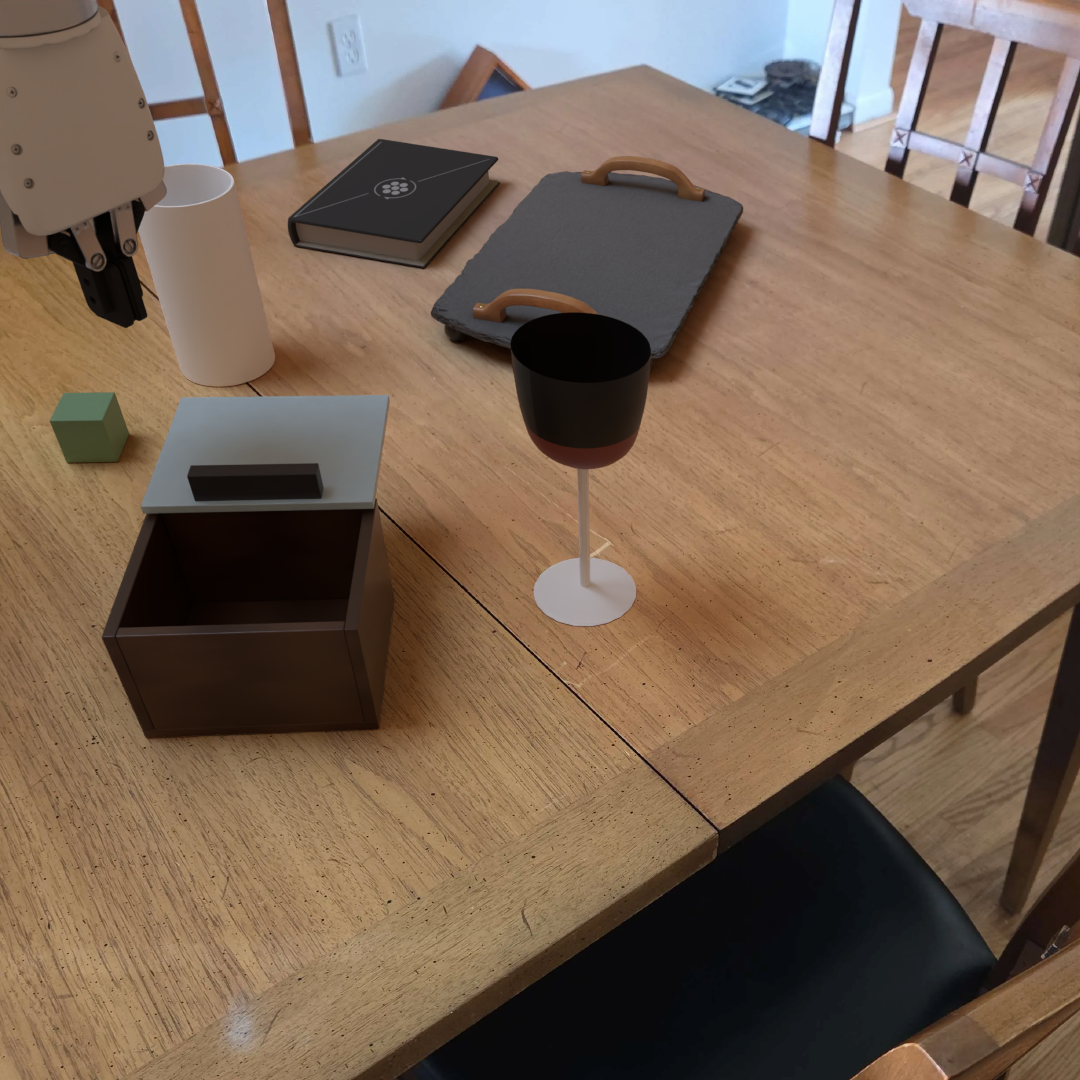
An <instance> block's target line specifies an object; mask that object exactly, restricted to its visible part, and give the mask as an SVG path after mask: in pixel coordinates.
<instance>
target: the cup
mask: <svg viewBox="0 0 1080 1080" xmlns="http://www.w3.org/2000/svg"><path fill="white" fill-rule="evenodd" d="M164 167H165V174H164V178H163V182H164V184H165V186H166V189H167V193H166V196H165V197H164V198H163V199H162V200H161V201H160V202H158V203H157V204H156V205H155V206H153V207H152V208H151V209H150V210H149V211H145V213H144V217H143V219H142V222H141V224H140V227H139V229H138V232H137V233H138V234H139V235H138V236H139V238H140V242H141V245H142V248H143V252H144V254H145V258H146V260H147V265H148V268H149V271H150V275H151V278H152V281H153V285H154V288H155V291H156V294H157V298H158V301H159V304H160V307H161V308H160V309H161V312H162V314H163V318H164V321H165V325H166V328H167V330H168V334H169V337H170V341H171V344H172V348H173V351H174V354H175V357H176V361H177V364H178V367H179V371H180V373H181V374H182V376H183V377H184V378H185V379H187V380H188V381H190V382H192V383H194V384H197V385H201V386H205V387H216V388H217V387H230V386H231V387H232V386H238V385H241V384H246V383H248V382H252V381H254V380H256V379H258V378H260V377H261V376H263V375H265V374H267V372H268V371H270V369H271V368H272V367H273V366H274V364H275V361H276V353H275V350H274V349H275V348H274V344H273V341H272V337H271V332H270V328H269V323H268V319H267V316H266V311H265V306H264V302H263V298H262V293H261V289H260V285H259V280H258V277H257V272H256V268H255V263H254V258H253V254H252V251H251V250H252V249H251V246H250V241H249V237H248V233H247V229H246V228H247V227H246V224H245V219H244V216H243V212H242V211H243V210H242V208H241V202H240V199H239V195H238V190H237V185H236V183H235V180H234V177H233V175H232V174H231V173H230V172H228V171H227V170H225V169H223V168H221V167H218V166H215V165H210V164H204V163H203V164H202V163H177V164H170V165H169V164H167V165H164Z"/></svg>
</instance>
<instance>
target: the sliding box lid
mask: <svg viewBox="0 0 1080 1080" xmlns="http://www.w3.org/2000/svg"><path fill="white" fill-rule="evenodd" d="M390 402H391V400H390V395H389V394H351V395H348V394H346V395H345V394H343V395H342V394H340V395H339V394H338V395H279V396H278V395H273V396H272V395H271V396H269V395H268V396H266V395H265V396H262V395H261V396H260V395H259V396H257V395H256V396H192V397H190V396H186V397H185V396H184V397H180V399H179V402H178V405H177V408H176V410H175V413H174V416H173V418H172V421H171V424H170V427H169V429H168V432H167V435H166V436H165V437H166V438H165V440H164V443H163V445H162V448H161V451H160V453H159V456H158V457H157V458H158V459H157V462H156V464H155V467H154V469H153V472H152V474H151V477H150V481H149V483H148V486H147V488H146V490H145V494H144V496H143V499H142V501H141V504H140V509H141V512H142V514H145V515H146V514H149V513H196V512H244V511H291V510H338V509H374V505H375V498H376V499H377V492H378V486H379V485H378V484H379V477H380V470H381V464H382V459H383V458H382V457H383V451H384V444H385V438H386V437H385V435H386V431H387V422H388V418H389V417H388V416H389V411H390V410H389V409H390V404H391V403H390Z"/></svg>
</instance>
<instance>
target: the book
mask: <svg viewBox="0 0 1080 1080" xmlns="http://www.w3.org/2000/svg"><path fill="white" fill-rule="evenodd" d="M498 161H499V157H498V156H495V155H488V154H482V153H475V152H468V151H462V150H456V149H450V148H449V149H448V148H442V147H435V146H429V145H424V144H418V143H417V144H416V143H410V142H403V141H397V140H390V139H384V138H377V140H375V141H374V142H373V143H372V144H371V145H370V146H368V147H367V148H366V149H364V151H363V152H361V154H360V155H358V156H357V157H356V158H355V159H353V160H352V162H350V163H349V164H347V166H345V168H343V169H342V170H341V171H340V172H338V174H337V175H335V176H334V177H333V178H332V179H331V180H329V182H328V183H326V184H325V185H324V186H323V187H322V188H321V189H319V190H318V191H317V192H316V193H315V194H314V195H313V196H312V197H310V198H309V199H308V200H307V201H306V202H305V203H303V204H302V205H301V206H300V207H299V208H298V209H297V210H295V212H293V213H292V214H290V216H289V217H288V218H287V231H288V235H289V238H290V241H291V243H292V245H293V246H294V247H297V248H302V249H303V248H304V249H307V250H308V249H309V250H315V251H320V252H327V253H332V254H338V255H345V256H349V257H355V258H362V259H368V260H374V261H378V262H384V263H391V264H396V265H402V266H408V267H414V268H420V269H426V267H427V266H429V264H430V263H431V261H433V259H434V258H435V257H436V256H437V255H438V254H439V253H440V251H442V249H443V248H444V247H445V246H446V245H447V244H448V243H449V241H450V240H451V239H453V237H454V236H455V235H456V234H457V232H458V231H459V230H460V229H461V228H463V225H465V224H466V222H467V221H468V220H469V219H470V218H471V217H472V215H473V214H474V213H475V212H476V211H477V210H478V209H479V207H481V205H483V203H484V202H486V199H488V197H489V196H491V194H492V193H493V192H494V191H495V189H496V188H498V187H499V186H500V184H501V182H500V181H499V180H496V179H490V175H489V171H490V170H491V168H492V167H493V166H494V165H496V163H498Z"/></svg>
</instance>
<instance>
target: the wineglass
mask: <svg viewBox="0 0 1080 1080" xmlns="http://www.w3.org/2000/svg"><path fill="white" fill-rule="evenodd" d="M510 354H511V355H510V356H511V363H512V364H511V365H512V373H513V378H514V386H515V391H516V395H517V401H518V404H519V409H520V413H521V417H522V419H523V424H524V426H525V428H526V431H527V434H528V436H529V438H530V439H531V442H532V443H533V445H534V446H535V447H536V448H537V449H538V450H539V451H540V452H541V453H542V454H543V455H545V456H546V457H548V458H549V459H551V460H552V461H554V462H556V463H558V464H561V465H563V466H566V467H569V468H572V469H576V471H577V510H578V511H577V512H578V513H577V517H578V521H577V522H578V557H573V558H569V559H564V560H561V561H559V562H557V563H554V564H552V565H550V566H549V567H547V568H546V569H545V570H544V571H542V572H541V573H540V575H539V576H538V578H537V579H536V581H535V583H534V587H533V598H534V600H535V603H536V605H537V607H538V608H539V609H540V611H542V612H543V614H544V615H546V616H547V617H549V618H551V619H553V620H555V621H556V622H558V623H562V624H565V625H570V626H573V627H595V626H599V625H604V624H608V623H610V622H613V621H615V620H617V619H620V618H621V617H622V616H624V615H625V614H626V613H627V612H628V611H629V610H631V608H632V606H633V604H634V602H635V600H636V599H637V585H636V583H635V580H634V579H633V577H632V575H631V574H630V573H629V572H628V571H627V570H626V569H625V568H623V567H622V566H620V565H618V564H616V563H614V562H612V561H610V560H606V559H602V558H597V557H591V543H590V542H591V539H590V536H591V535H590V532H591V531H590V470H595V469H596V470H597V469H600V468H605V467H608V466H611V465H613V464H616V463H617V462H619V461H621V459H623V458H625V457H626V455H627V454H628V453H629V452H630V450H631V449H632V448H633V446H634V445H635V442H636V440H637V437H638V435H639V431H640V428H641V423H642V420H643V416H644V412H645V407H646V403H647V398H648V388H649V383H650V372H651V370H650V361H651V347H650V343H649V342H648V340H647V338H646V337H645V336H644V335H643V334H642V333H641V332H640V331H639V330H637V329H636V328H634V327H633V326H631V325H629V324H627V323H625V322H623V321H621V320H618V319H615V318H612V317H608V316H604V315H598V314H592V313H581V312H568V313H557V314H550V315H546V316H542V317H539V318H536V319H533V320H531V321H529V322H527V323H525V324H524V325H522V326H521V327H520V328H518V330H517V331H516V332H515V333H514V335H513V336H512V339H511V349H510Z"/></svg>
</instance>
